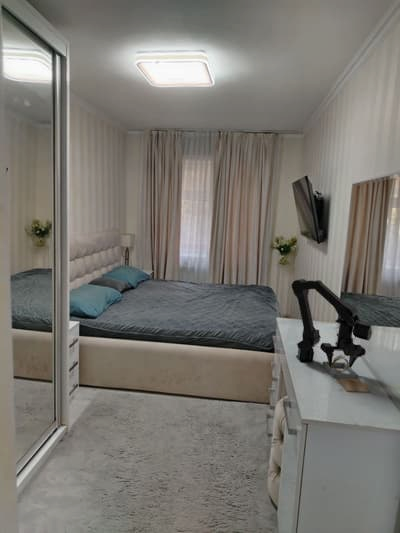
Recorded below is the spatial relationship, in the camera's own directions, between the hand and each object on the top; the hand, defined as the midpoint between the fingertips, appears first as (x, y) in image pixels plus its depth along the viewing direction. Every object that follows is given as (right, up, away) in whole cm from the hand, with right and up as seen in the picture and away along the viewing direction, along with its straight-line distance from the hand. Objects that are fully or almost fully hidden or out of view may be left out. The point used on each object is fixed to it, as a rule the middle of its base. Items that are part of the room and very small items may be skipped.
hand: (340, 366), depth 166 cm
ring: (0, -3, 0) cm, 3 cm away
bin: (0, -2, 0) cm, 2 cm away
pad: (+1, -5, -12) cm, 13 cm away
